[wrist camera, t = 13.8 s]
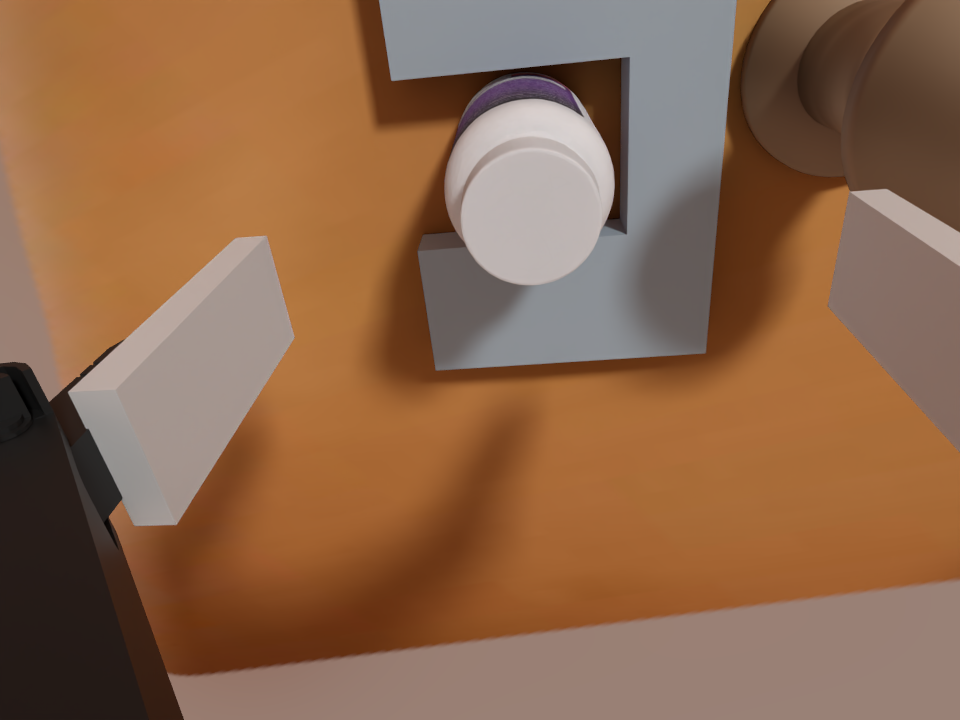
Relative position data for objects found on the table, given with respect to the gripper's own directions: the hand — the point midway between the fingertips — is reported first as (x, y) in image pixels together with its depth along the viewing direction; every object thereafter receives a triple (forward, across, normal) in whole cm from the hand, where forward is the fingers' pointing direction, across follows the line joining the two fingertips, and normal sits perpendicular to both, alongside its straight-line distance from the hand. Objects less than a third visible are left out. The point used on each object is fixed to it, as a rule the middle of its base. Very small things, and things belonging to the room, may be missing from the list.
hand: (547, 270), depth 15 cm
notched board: (+13, +1, 0) cm, 13 cm away
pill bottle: (+13, -1, 0) cm, 13 cm away
